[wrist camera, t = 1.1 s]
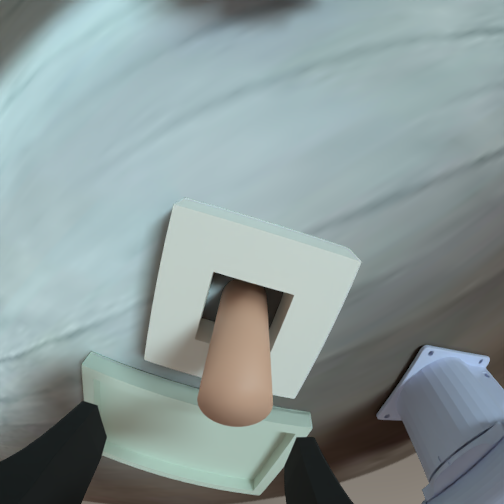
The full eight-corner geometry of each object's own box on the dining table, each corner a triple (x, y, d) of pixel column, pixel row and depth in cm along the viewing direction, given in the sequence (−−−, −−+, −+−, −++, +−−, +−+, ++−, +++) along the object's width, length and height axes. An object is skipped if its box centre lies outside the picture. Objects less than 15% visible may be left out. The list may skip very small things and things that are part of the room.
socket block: (348, 247, 18) (361, 261, 15) (291, 375, 21) (294, 398, 18) (185, 197, 17) (173, 204, 15) (154, 338, 20) (144, 359, 18)
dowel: (273, 284, 19) (283, 386, 10) (258, 322, 19) (259, 432, 11) (228, 272, 18) (205, 368, 10) (216, 311, 19) (191, 417, 11)
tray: (309, 412, 22) (312, 428, 20) (259, 482, 26) (259, 495, 24) (91, 351, 21) (81, 364, 19) (96, 438, 24) (90, 450, 23)
